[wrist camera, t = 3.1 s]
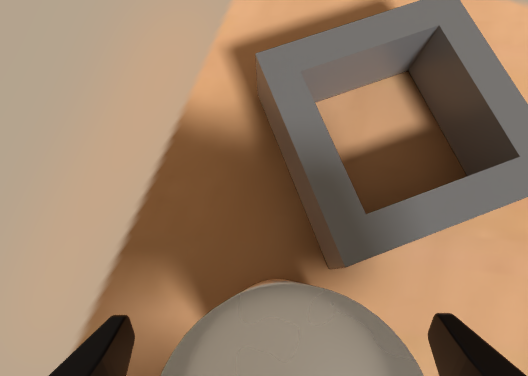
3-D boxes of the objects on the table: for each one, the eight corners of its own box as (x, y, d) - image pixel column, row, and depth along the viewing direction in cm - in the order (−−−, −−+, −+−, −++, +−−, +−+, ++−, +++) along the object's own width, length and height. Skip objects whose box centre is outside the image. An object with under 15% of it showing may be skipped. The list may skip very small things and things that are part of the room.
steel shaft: (349, 370, 15) (503, 552, 5) (244, 413, 14) (193, 700, 5) (307, 263, 16) (366, 245, 6) (210, 300, 16) (113, 341, 6)
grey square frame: (513, 198, 17) (575, 178, 13) (329, 269, 16) (345, 267, 12) (420, 40, 19) (452, -11, 16) (257, 94, 18) (255, 53, 15)
